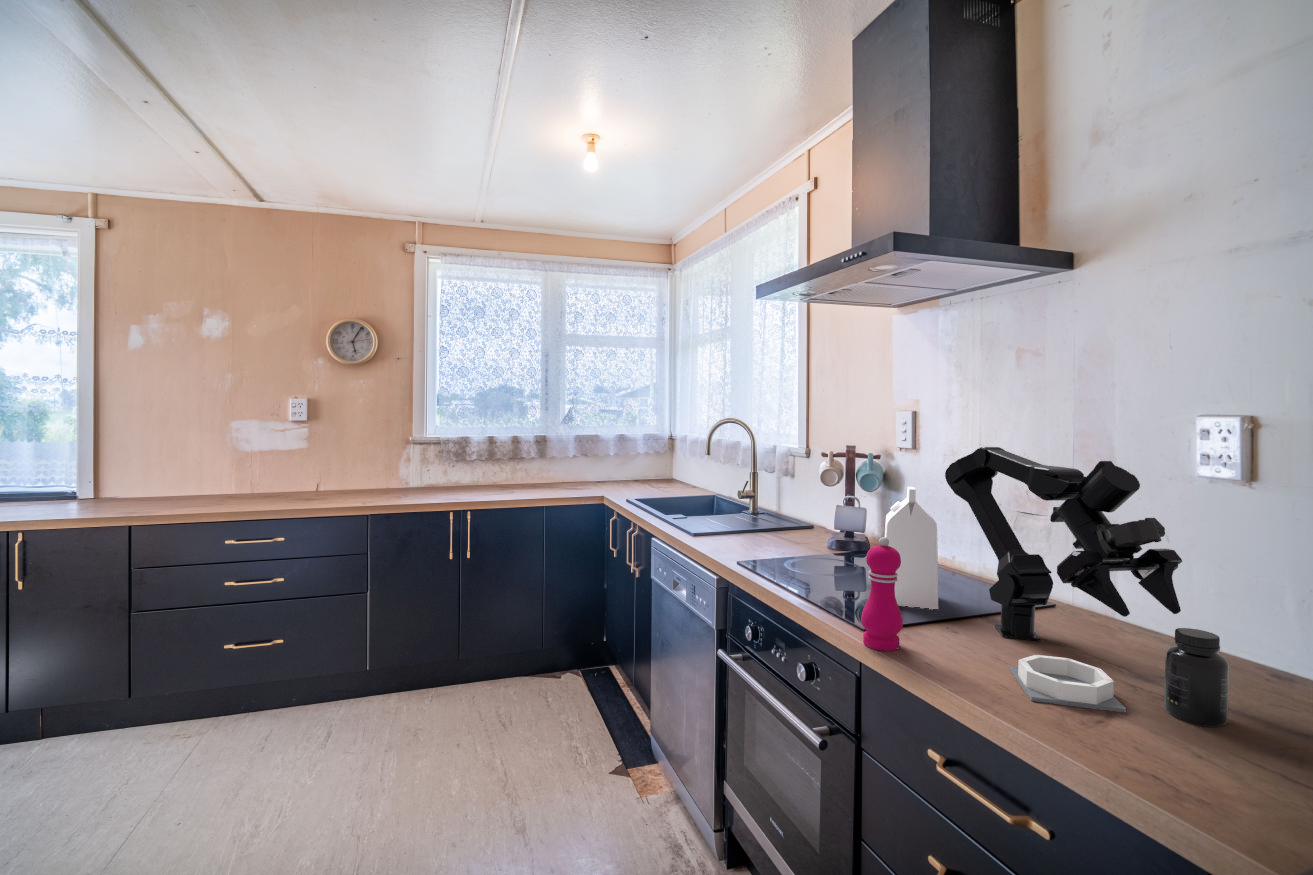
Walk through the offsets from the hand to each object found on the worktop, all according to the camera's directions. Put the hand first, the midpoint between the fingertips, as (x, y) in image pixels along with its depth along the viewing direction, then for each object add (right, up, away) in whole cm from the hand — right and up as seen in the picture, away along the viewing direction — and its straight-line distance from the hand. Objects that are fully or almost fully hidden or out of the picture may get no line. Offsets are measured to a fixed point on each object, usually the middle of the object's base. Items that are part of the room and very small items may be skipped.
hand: (1152, 613), depth 93 cm
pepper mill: (-34, -12, +20) cm, 41 cm away
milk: (-17, -11, +49) cm, 53 cm away
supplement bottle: (+1, -13, -6) cm, 14 cm away
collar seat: (-12, -12, +2) cm, 18 cm away
